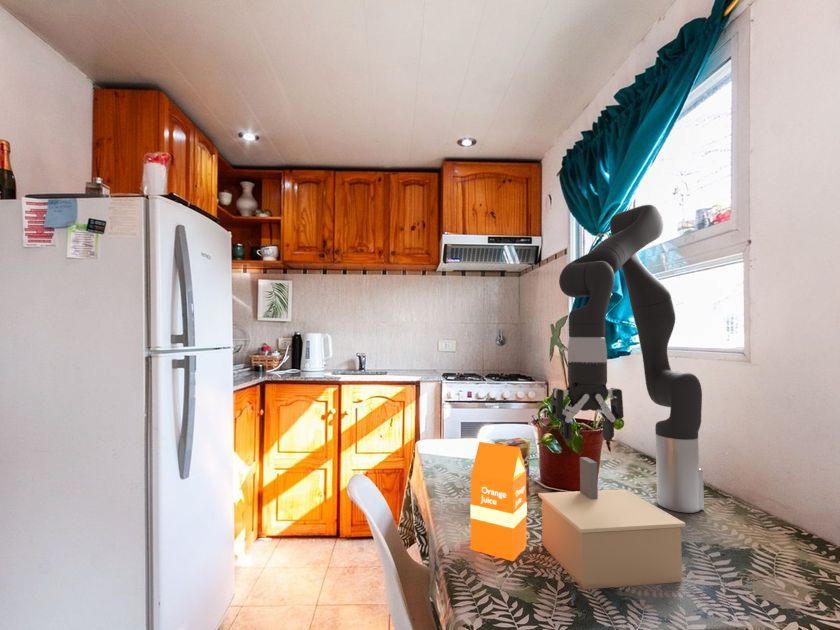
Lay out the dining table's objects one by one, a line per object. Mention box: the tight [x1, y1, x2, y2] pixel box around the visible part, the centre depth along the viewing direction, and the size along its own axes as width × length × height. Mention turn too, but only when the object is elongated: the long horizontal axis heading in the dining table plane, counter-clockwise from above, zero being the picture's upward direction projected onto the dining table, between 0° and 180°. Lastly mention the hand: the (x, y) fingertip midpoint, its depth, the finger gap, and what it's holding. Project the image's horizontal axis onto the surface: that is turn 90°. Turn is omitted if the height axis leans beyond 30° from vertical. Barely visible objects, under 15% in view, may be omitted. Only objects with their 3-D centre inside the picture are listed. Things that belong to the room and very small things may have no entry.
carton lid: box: [537, 456, 686, 533], centre depth 82 cm, size 19×17×8 cm
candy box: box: [494, 437, 531, 502], centre depth 111 cm, size 9×4×15 cm, turn 123°
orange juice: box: [470, 441, 528, 562], centre depth 87 cm, size 8×9×20 cm
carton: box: [541, 499, 683, 590], centre depth 81 cm, size 18×16×9 cm
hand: (587, 440), depth 88 cm, fingers open, 8 cm apart
